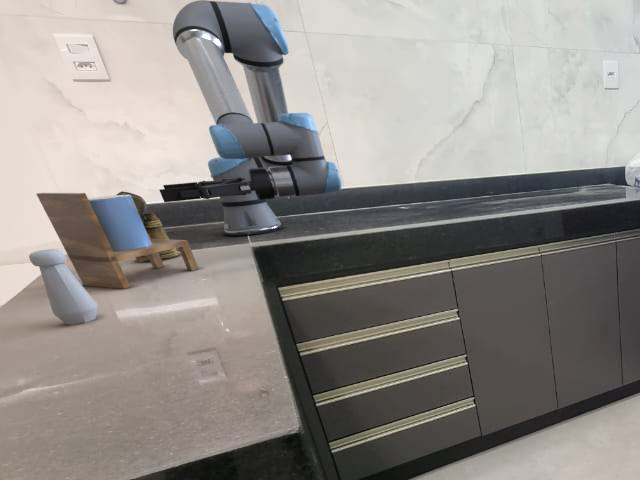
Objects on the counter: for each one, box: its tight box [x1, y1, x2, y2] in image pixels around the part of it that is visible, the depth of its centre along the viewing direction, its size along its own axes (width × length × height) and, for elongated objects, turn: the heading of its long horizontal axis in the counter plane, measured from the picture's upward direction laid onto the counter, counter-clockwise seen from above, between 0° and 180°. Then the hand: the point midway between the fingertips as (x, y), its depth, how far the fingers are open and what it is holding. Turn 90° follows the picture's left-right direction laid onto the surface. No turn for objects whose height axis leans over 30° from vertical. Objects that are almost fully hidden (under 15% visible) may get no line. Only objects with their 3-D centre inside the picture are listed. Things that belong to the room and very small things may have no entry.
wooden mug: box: [116, 191, 179, 263], centre depth 136 cm, size 9×14×18 cm, turn 35°
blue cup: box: [88, 194, 152, 251], centre depth 118 cm, size 11×8×11 cm
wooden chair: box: [36, 192, 200, 290], centre depth 120 cm, size 16×14×20 cm
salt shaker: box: [28, 248, 99, 326], centre depth 94 cm, size 6×6×13 cm
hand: (163, 193), depth 121 cm, fingers open, 13 cm apart
